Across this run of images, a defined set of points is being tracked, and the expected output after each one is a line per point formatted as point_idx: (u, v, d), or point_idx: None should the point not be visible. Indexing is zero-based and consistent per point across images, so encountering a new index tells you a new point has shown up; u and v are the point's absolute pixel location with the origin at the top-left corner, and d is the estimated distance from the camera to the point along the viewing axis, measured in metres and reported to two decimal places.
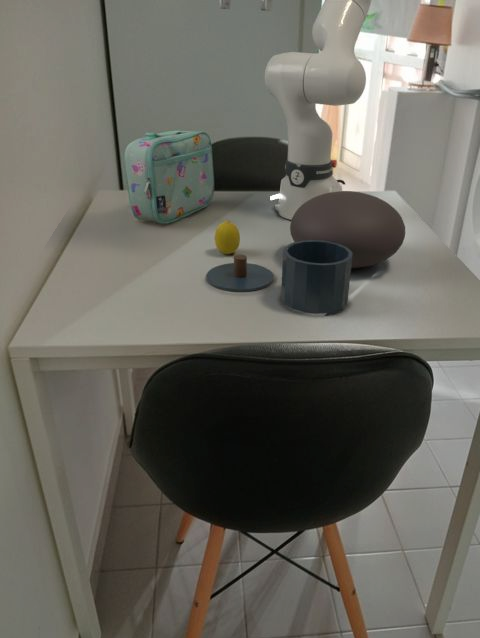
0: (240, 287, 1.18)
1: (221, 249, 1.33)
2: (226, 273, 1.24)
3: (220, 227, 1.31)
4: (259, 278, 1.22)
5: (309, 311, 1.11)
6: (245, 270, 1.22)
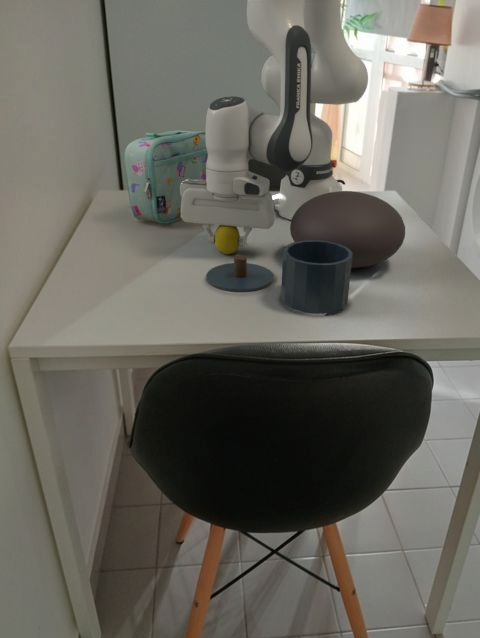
0: (240, 287, 1.18)
1: (221, 249, 1.33)
2: (226, 273, 1.24)
3: (220, 227, 1.31)
4: (259, 278, 1.22)
5: (309, 311, 1.11)
6: (245, 270, 1.22)
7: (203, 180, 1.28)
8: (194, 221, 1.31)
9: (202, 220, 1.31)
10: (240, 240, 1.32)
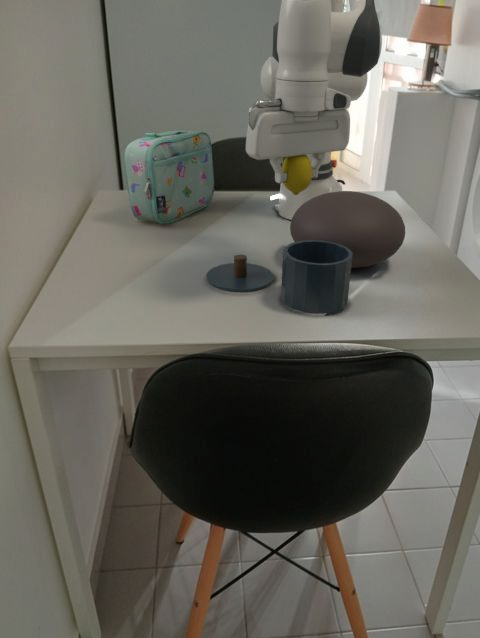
0: (240, 287, 1.18)
1: (300, 186, 1.08)
2: (226, 273, 1.24)
3: (296, 158, 1.06)
4: (259, 278, 1.22)
5: (309, 311, 1.11)
6: (245, 270, 1.22)
7: (277, 100, 1.00)
8: (271, 156, 1.03)
9: (281, 152, 1.03)
10: (313, 171, 1.10)
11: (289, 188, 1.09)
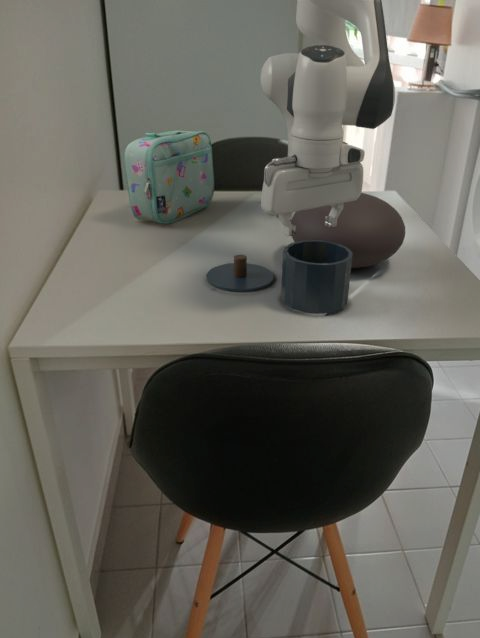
0: (240, 287, 1.18)
1: None
2: (226, 273, 1.24)
3: None
4: (259, 278, 1.22)
5: (309, 311, 1.11)
6: (245, 270, 1.22)
7: (292, 157, 1.01)
8: (286, 211, 1.04)
9: (296, 207, 1.04)
10: (332, 220, 1.12)
11: None
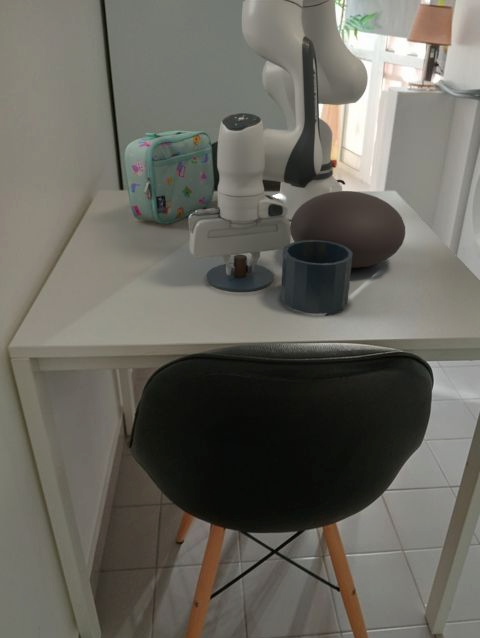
0: (240, 287, 1.18)
1: None
2: (226, 273, 1.24)
3: None
4: (259, 278, 1.22)
5: (309, 311, 1.11)
6: (245, 270, 1.22)
7: (215, 209, 1.14)
8: (209, 255, 1.17)
9: (219, 252, 1.17)
10: (249, 267, 1.22)
11: None
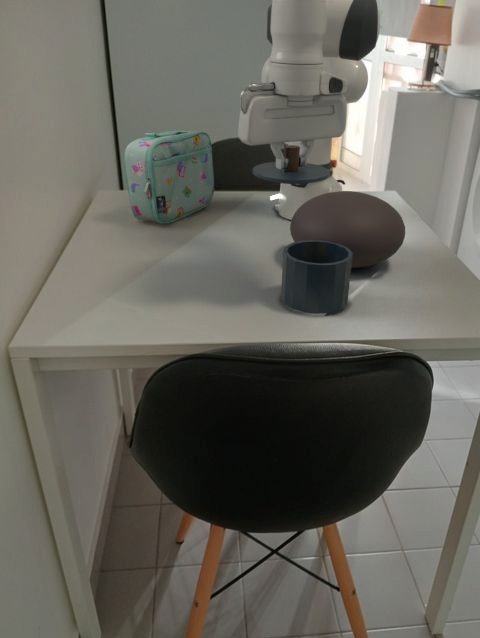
0: (300, 178, 1.02)
1: None
2: (274, 169, 1.07)
3: None
4: (314, 171, 1.07)
5: (309, 311, 1.11)
6: (298, 163, 1.06)
7: (270, 84, 0.97)
8: (264, 142, 1.00)
9: (274, 138, 1.00)
10: (302, 159, 1.06)
11: None
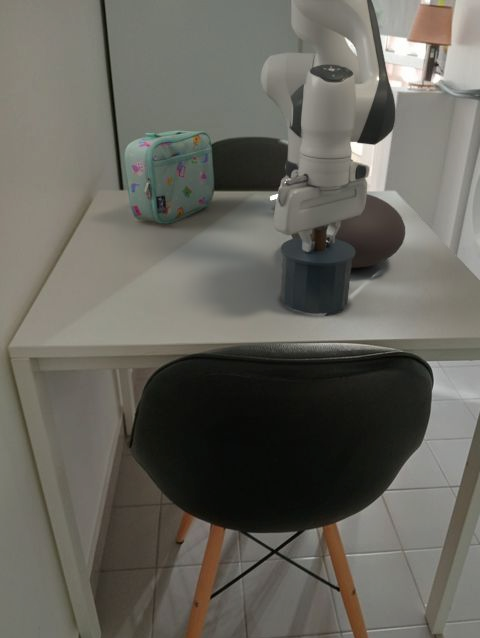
0: (334, 260, 1.06)
1: None
2: (302, 249, 1.11)
3: None
4: (340, 249, 1.11)
5: (309, 311, 1.11)
6: (325, 242, 1.10)
7: (304, 176, 1.01)
8: (299, 230, 1.03)
9: (308, 225, 1.04)
10: (331, 238, 1.11)
11: None
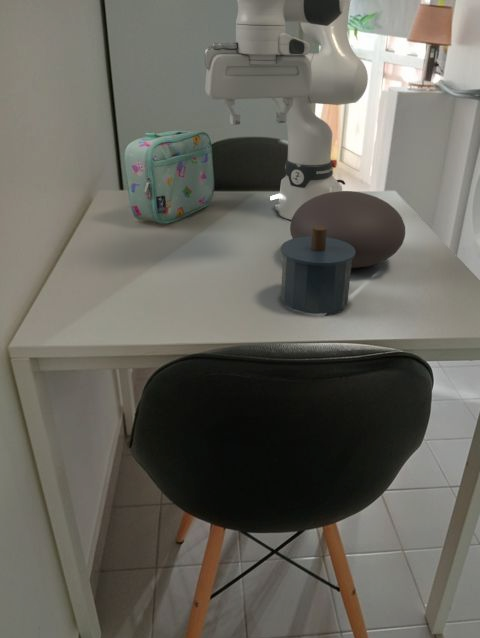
0: (334, 260, 1.06)
1: None
2: (302, 249, 1.11)
3: None
4: (340, 249, 1.11)
5: (309, 311, 1.11)
6: (325, 242, 1.10)
7: (233, 43, 1.08)
8: (226, 96, 1.11)
9: (236, 93, 1.11)
10: (281, 115, 1.17)
11: None
